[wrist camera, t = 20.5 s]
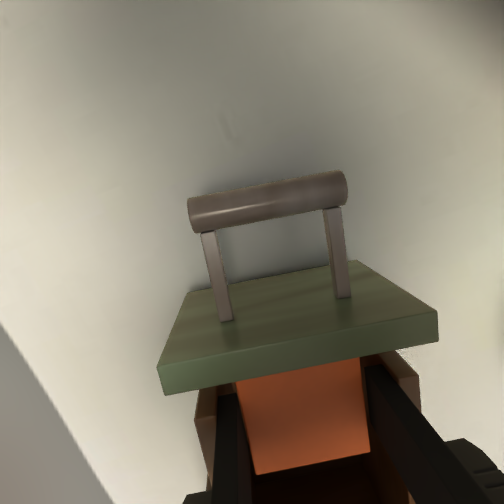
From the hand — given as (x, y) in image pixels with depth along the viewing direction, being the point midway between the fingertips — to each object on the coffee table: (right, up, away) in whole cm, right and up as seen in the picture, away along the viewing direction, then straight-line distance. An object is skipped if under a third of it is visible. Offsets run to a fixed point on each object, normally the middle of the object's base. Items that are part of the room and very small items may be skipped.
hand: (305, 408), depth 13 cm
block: (0, +1, +5) cm, 5 cm away
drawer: (0, +1, +6) cm, 6 cm away
